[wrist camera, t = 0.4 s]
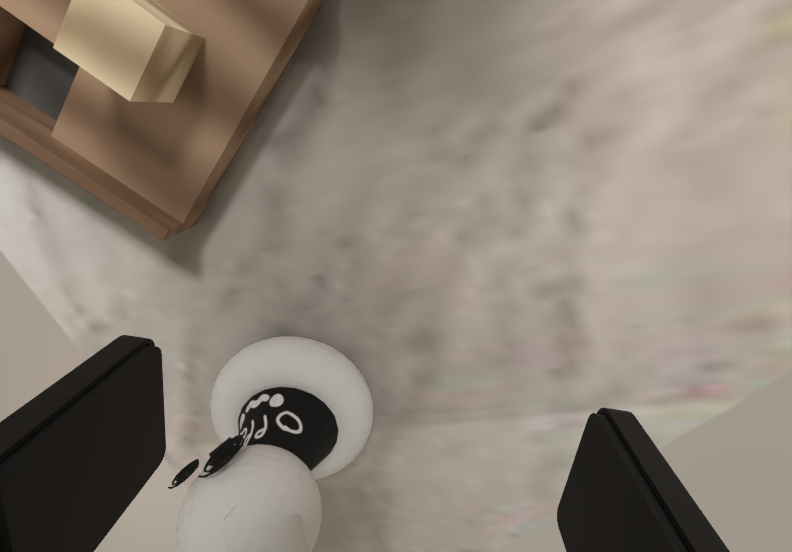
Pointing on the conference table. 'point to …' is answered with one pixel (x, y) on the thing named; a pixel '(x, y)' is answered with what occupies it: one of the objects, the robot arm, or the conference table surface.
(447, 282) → the conference table surface
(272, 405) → the decorative figurine
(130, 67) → the maple block
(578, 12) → the conference table surface
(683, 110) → the conference table surface
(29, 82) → the box
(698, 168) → the conference table surface
